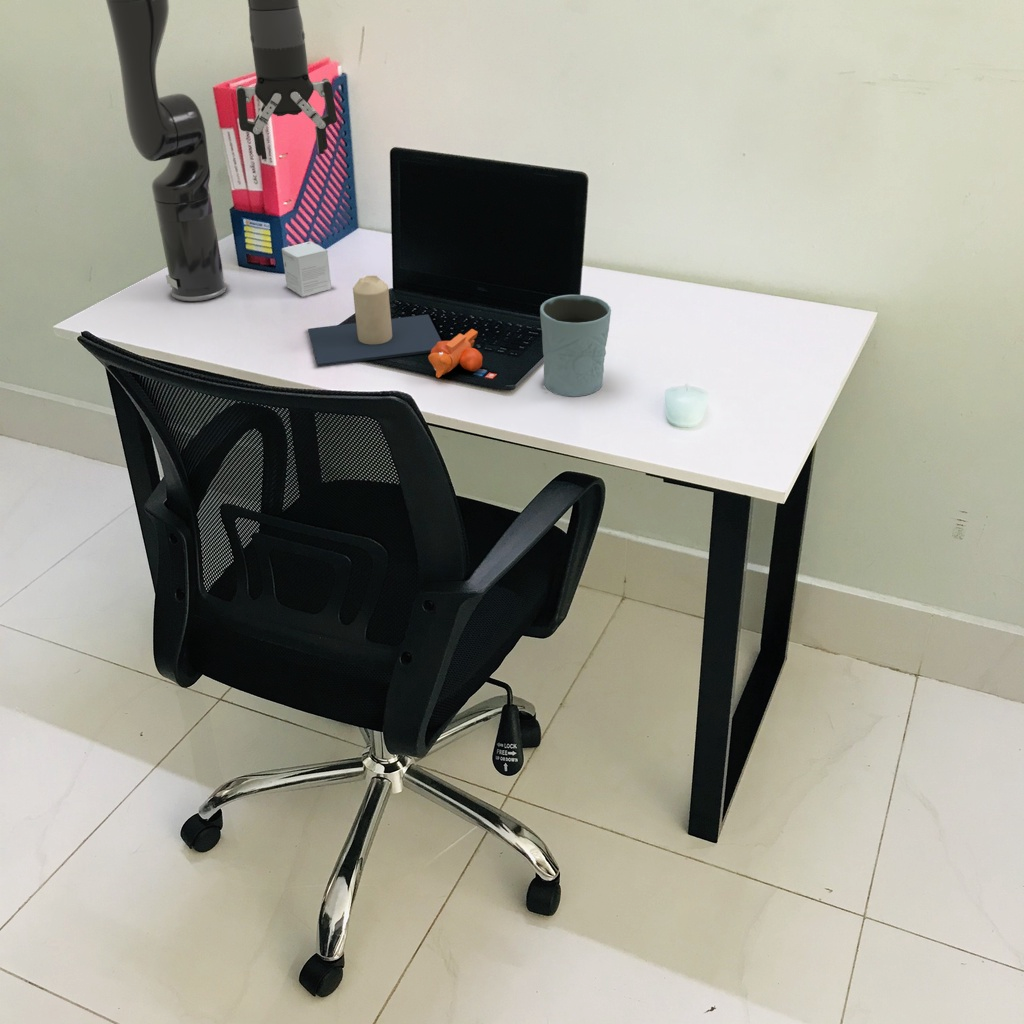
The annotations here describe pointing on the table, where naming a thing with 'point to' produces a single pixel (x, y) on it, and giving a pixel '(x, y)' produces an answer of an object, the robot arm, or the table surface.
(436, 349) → the orange toy bird
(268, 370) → the table surface
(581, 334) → the grey green cup
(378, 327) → the candle
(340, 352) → the desk mat
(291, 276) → the product box
